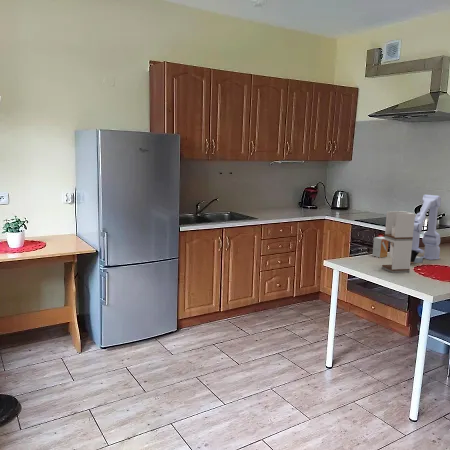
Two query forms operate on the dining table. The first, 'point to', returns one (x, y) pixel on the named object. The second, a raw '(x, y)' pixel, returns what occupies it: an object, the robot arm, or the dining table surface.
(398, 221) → the coffee grinder
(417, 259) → the pad
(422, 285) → the dining table surface
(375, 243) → the small box
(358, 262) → the dining table surface
